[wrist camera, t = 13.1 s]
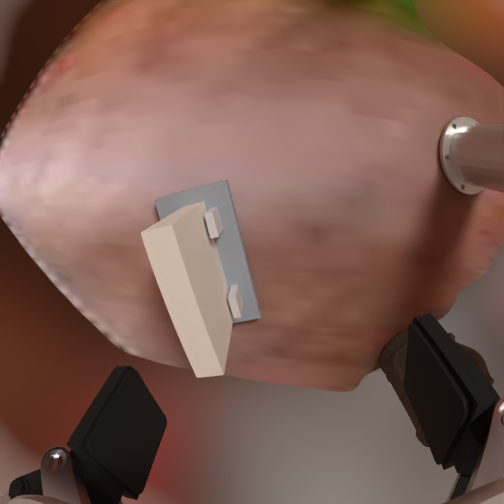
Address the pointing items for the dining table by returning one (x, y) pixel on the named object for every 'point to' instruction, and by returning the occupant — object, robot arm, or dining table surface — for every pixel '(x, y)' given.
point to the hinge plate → (221, 242)
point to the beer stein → (395, 370)
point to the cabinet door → (192, 286)
